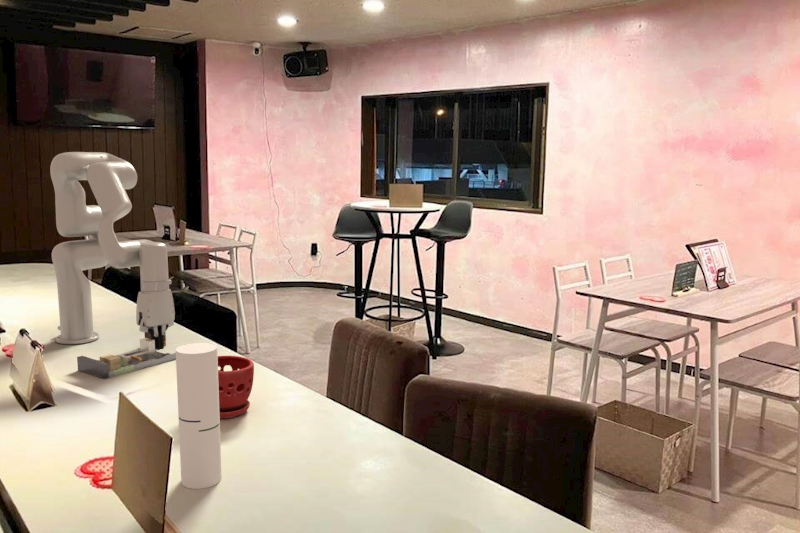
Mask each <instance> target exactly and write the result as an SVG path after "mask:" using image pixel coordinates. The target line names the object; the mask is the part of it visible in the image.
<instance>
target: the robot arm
mask: <svg viewBox="0 0 800 533" xmlns="http://www.w3.org/2000/svg"><path fill="white" fill-rule="evenodd" d="M49 169H50V170H49V171H50V178H51V181H52V185H53V189H54V195H55V196H54V199H55V201H54V205H55V224H56V230H57V232H58V234H59V235H60V236H62V237H64V238H74V237H88V239H79V240H68V241H63V242H60V243H58V244H56V245H55V246H54V247H53V249H52V250H51V251H52V252H51V261H52V264H53V268H54V272H55V278H56V287H57V298H58V299H57V301H58V312H59V314H58V315H59V325H58V326H57V330H58V331H60V334H58V335H57V336H56V337H55V342H56V343H58V344H62V345H81V344H87V343H90V342H95V341H97V340H99V338H100V334H99V333H98V332H96V331H94V317H93V303H92V302H93V301H92V287H91V282H90V281H89V279H88V277H87V276H86V274H84V272H83V271H88V270H93V269H100V268H103V267H106V266H107V265H108V264H109V265H110V266H111V267H112V268H114V269H127V268H132V267H139V272H140V274H139V276H140V291H138V293H137V298H136V299H137V300H136V311H135V312H136V313H135V314H136V315H135V316H136V318H135V319H136V325H137V326H139V329H138V330H139V332H142V333H145V332H147V333H149V335H151V339H153V340H155V349H156V351H160V350H164V348H165V347H164V335H165V332H167V331H168V329H169V328H170V327H173V326H174V325H175V322H174V321H175V315H176V311H175V303H174V302H175V301H174V297H173V292H172V290H171V288H170V285H172V282H173V281H172V280H171V279H170V278H169V262H168V261H169V260H168V247H167V244H165V243H163V242H161V241H160V242H159V241H153V240H150V239H144V238H143V239H133V240H132V239H131V240H124V241H119V240H118V238H117V236H116V233H115V231H114V223H115V222H116V221H118V220H120V219H123V217H125V216H126V215H128V214H129V213H130V212H131V211H132V208H133V204H132V202H131V200H130V198H129V196H128V193H127V191H126V190H132V189H133V188H134V187H135V186H136V185H137V182H138V173H137V171H136V169H135V167H134V166H133V165H132V164H131V162H129V161H127V160H125V159H123V158H120V157H118V156H116V155H114V154H111V153H108V152H100V151H97V152H96V151H87V152H86V151H69V152H68V151H65V152H62V153H58V154H57V155H55V156H54V157H53V158H52V160H51V163H50V168H49ZM79 181H87V182H88V184H89V187H90V189H91V191H92V193H93V195H94V198H95V200H96V203H97V204H98V205H96V204H92V205H91V204H90V205H87V204H86V203H87V202H86V191H85V189H84V187H83V186H82V184H81V183H80V182H79Z"/></svg>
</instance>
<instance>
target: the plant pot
mask: <svg viewBox="0 0 800 533" xmlns="http://www.w3.org/2000/svg"><path fill="white" fill-rule="evenodd" d="M254 365H255V363H254V362H253V361H252V359H249V358H247V357H243V356H238V355H218V368H220V369H218V384H219V414H220V419H228V418H234V417H237V416H238V417H239V416H240V415H242V414H244V413H245V412H246V411H247V410H249V408H250V405H251V403H250V401H249V400H248V399H249V398H250V396H251V392H252V390H253V384H254V375H255V373H254V372H255V368H254V367H255V366H254ZM226 366H230V367H231V370H225V369H224V368H225V367H226ZM224 370H225V371H224Z"/></svg>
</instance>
